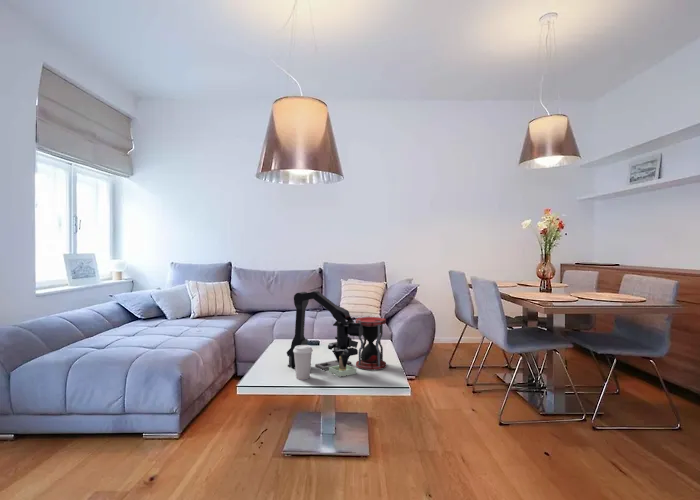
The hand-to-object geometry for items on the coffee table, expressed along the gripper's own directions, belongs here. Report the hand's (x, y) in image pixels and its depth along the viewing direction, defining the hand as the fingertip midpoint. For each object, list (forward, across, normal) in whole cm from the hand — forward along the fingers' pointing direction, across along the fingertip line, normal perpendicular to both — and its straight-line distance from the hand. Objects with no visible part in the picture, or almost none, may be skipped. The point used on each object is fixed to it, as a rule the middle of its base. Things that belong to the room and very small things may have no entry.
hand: (342, 365), depth 208 cm
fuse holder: (+4, +13, -3) cm, 14 cm away
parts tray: (+4, 0, 0) cm, 4 cm away
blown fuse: (+2, 0, 0) cm, 2 cm away
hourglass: (+4, +1, -19) cm, 19 cm away
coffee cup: (+4, +5, +20) cm, 21 cm away
